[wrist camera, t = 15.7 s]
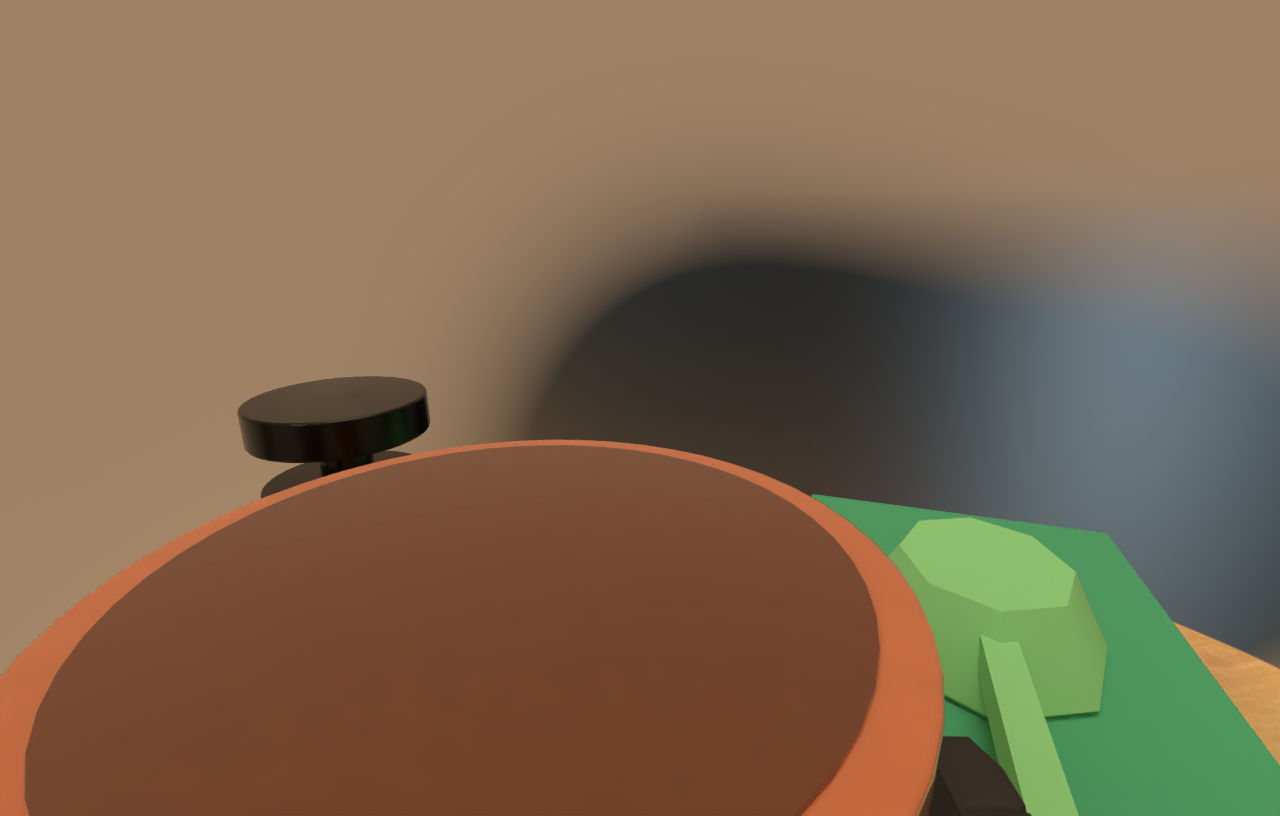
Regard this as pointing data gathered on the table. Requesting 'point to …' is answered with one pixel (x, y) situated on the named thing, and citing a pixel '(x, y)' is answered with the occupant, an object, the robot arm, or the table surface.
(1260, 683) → the table surface
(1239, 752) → the toy tank
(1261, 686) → the table surface
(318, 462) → the flask
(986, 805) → the robot arm
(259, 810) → the cup
